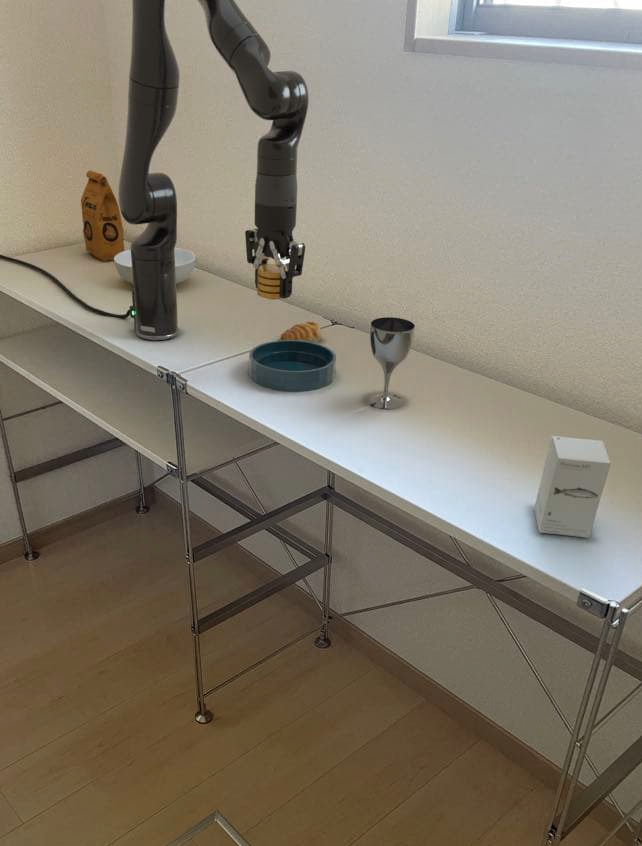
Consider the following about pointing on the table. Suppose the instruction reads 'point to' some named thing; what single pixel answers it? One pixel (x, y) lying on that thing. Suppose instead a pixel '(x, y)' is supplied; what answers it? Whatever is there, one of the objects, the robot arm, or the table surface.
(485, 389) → the table surface
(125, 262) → the serving bowl
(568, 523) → the white packaging box
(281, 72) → the robot arm
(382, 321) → the wine glass
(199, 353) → the table surface
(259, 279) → the tan ridged cylinder
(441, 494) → the table surface
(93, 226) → the coffee package
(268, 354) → the bowl
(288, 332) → the pastry
